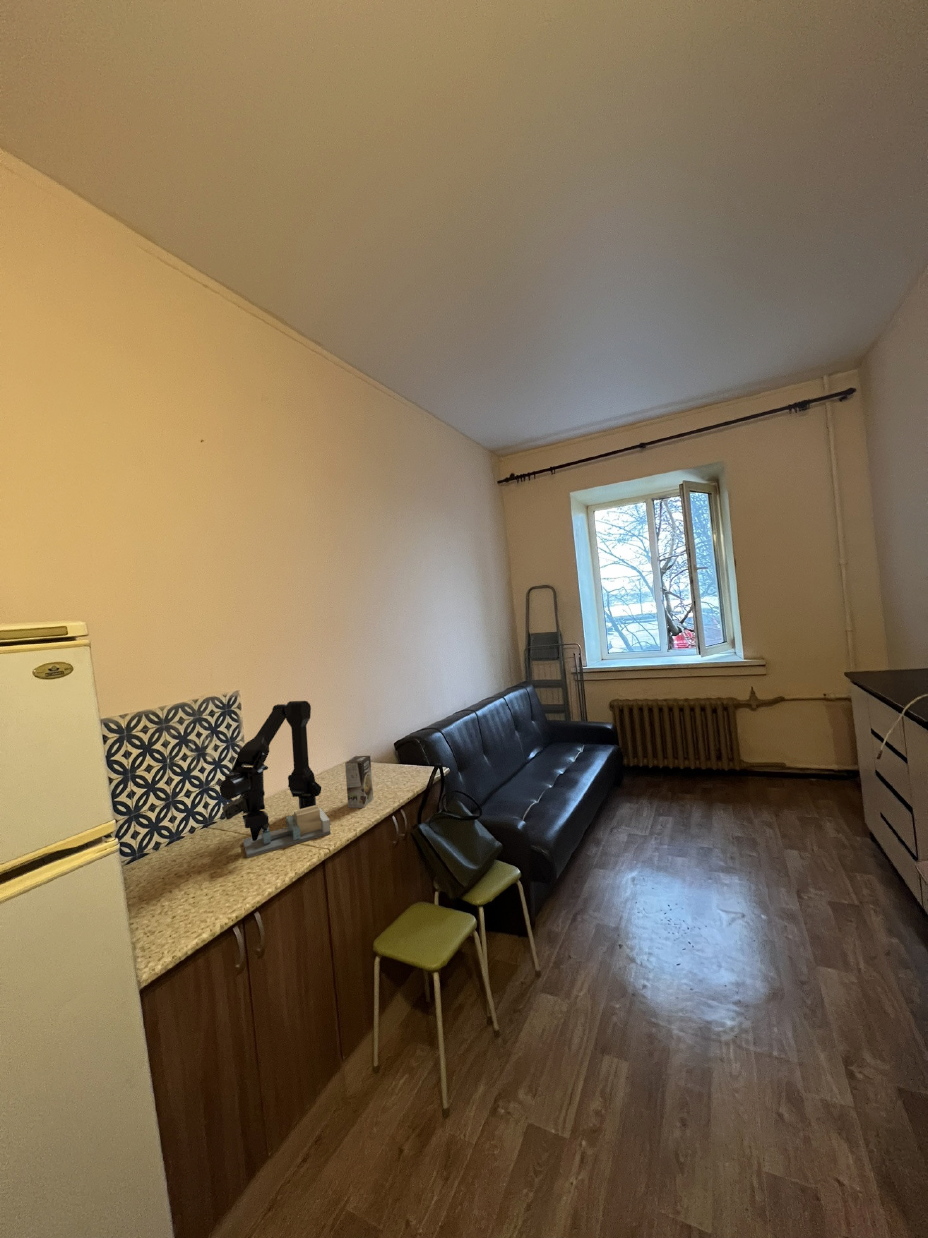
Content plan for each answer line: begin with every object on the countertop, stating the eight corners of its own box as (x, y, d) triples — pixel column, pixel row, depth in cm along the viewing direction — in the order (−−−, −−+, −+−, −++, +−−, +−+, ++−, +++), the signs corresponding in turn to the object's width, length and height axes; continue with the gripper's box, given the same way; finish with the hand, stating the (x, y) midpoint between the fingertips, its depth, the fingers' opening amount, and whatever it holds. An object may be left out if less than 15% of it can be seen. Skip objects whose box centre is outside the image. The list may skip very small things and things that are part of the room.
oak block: (295, 829, 153) (293, 810, 153) (317, 823, 157) (316, 805, 157) (298, 835, 149) (296, 815, 149) (321, 828, 152) (319, 809, 152)
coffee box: (364, 808, 170) (360, 762, 170) (347, 808, 171) (344, 762, 171) (374, 798, 179) (371, 755, 179) (358, 798, 180) (354, 755, 180)
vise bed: (243, 842, 149) (241, 828, 149) (321, 821, 161) (320, 808, 161) (247, 858, 138) (245, 842, 138) (330, 834, 150) (329, 819, 150)
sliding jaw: (259, 834, 151) (258, 816, 151) (293, 825, 156) (291, 807, 156) (264, 848, 141) (263, 829, 141) (300, 838, 146) (299, 819, 146)
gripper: (222, 785, 150) (223, 835, 149) (225, 802, 133) (226, 859, 133) (261, 778, 155) (262, 827, 155) (268, 795, 139) (269, 849, 138)
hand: (254, 840), depth 145 cm, fingers closed, pressing on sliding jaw
